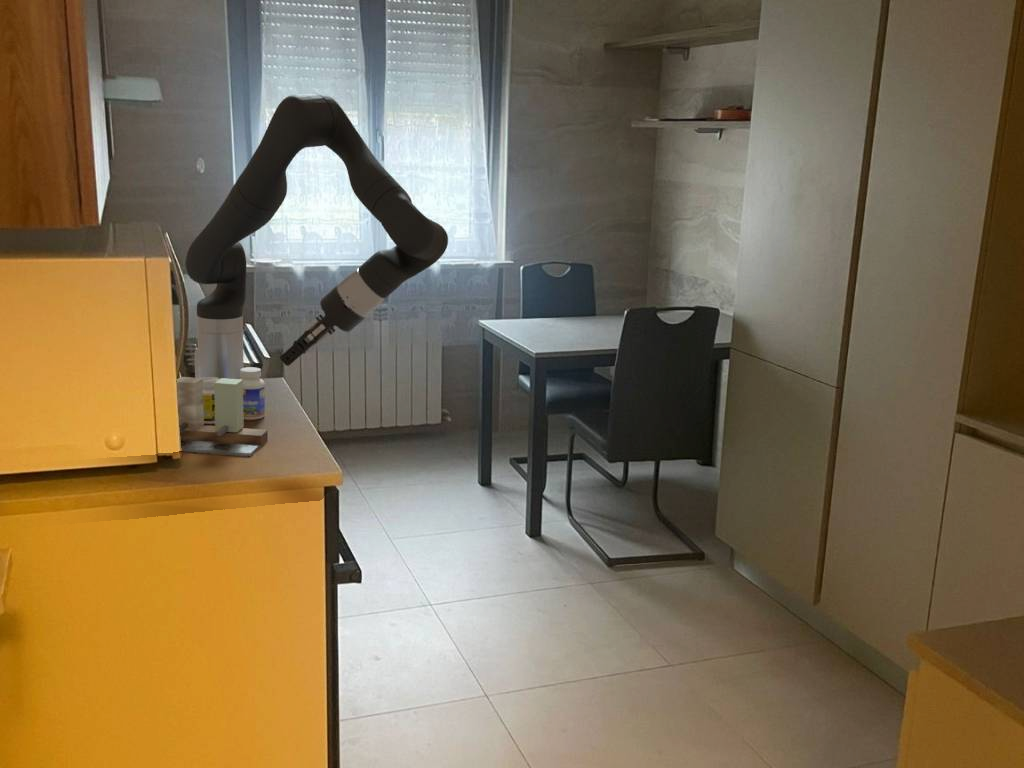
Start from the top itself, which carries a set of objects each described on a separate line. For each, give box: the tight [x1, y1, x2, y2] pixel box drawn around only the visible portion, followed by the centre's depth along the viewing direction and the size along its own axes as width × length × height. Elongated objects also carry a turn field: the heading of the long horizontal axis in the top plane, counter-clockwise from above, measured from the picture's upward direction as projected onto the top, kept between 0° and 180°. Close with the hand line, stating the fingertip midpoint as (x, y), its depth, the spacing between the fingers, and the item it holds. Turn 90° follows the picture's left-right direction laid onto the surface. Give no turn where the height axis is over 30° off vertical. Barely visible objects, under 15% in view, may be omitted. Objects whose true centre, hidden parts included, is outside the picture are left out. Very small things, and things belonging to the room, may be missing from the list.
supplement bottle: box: [203, 377, 219, 425], centre depth 187 cm, size 5×5×8 cm
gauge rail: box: [176, 376, 268, 447], centre depth 174 cm, size 16×7×11 cm, turn 86°
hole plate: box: [181, 439, 261, 458], centre depth 171 cm, size 16×5×1 cm, turn 86°
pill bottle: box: [240, 366, 266, 421], centre depth 191 cm, size 5×5×10 cm
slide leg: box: [214, 378, 245, 436], centre depth 173 cm, size 4×7×9 cm, turn 176°
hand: (284, 361), depth 172 cm, fingers closed
